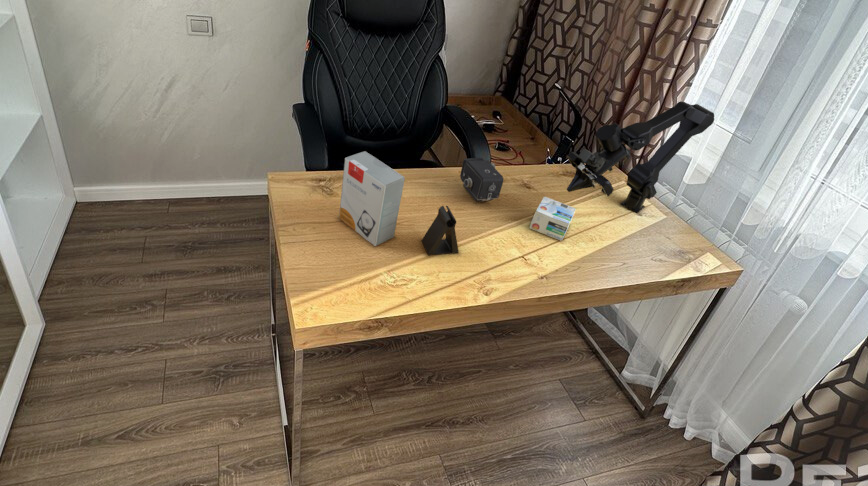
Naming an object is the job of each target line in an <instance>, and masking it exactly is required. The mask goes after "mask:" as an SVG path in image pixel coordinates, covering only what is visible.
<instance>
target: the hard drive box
mask: <svg viewBox="0 0 868 486" xmlns="http://www.w3.org/2000/svg"><path fill="white" fill-rule="evenodd" d="M405 179H406V177H405V176H404V175H402V174H401V173H400V172H398V171H397V170H395V169H393V168H391V167H390V166H389V165H387V164H385V163H384V162H383V161H381V160H379V158H377V157H376V156H373V155H372V154H370V153H368V152H367V151H366V150H364V151H361V152H358V153H355V154H352V155H349V156H347V157H345V158H344V164H343V174H342V182H341V183H342V184H341V192H340V193H341V194H340V204H339V213H338V214H339V215H338V219H339V220H341V221H342V222H343V223H344V224H345V225H346V226H348V227H349V228H351V229H352V230H353V231H354V232H356V233H357V234H358V235H360V236H361V237H362V238H363V239H364V240H366V241H367V242H368V243H370V244H371V245H372V246H374V247H377V246H379V245H381V244H383V243H385V242H387V241H389V240H391V239H392V238H395V234H396V227H397V223H398V217H399V211H400V206H401V202H402V201H401V200H402V196H403V190H404V185H405Z"/></svg>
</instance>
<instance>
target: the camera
mask: <svg viewBox="0 0 868 486" xmlns="http://www.w3.org/2000/svg"><path fill="white" fill-rule="evenodd" d="M459 178H460V180H461V182H462V183H463V186H462V187H463V188H464V189H465V190H466V191H467V193H468V194H469V195H470V196H471V197H472V199H473V200H474V201H475V202H489V201H493V200H495V199H499V197H500V194H501V191H502V187H503V184H504V179H505V178H504V177H503V175H502V174H501V173H500V172H499V171H498V170H497V168H496V164H495V163H493V162H492V163H491V162H490V161H489V160H488V159H483V157H476V158H475V157H472V158H464V159H463V161H462V166H461V170H460V174H459Z"/></svg>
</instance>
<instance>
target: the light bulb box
mask: <svg viewBox="0 0 868 486" xmlns="http://www.w3.org/2000/svg"><path fill="white" fill-rule="evenodd" d="M575 212H576V207H574V206H570V205H568V204H565V203H563V202H561V201H557V200H555V199H553V198H551V197H548V196H545V195H544V196H543V197H542V199H541V201H540V203H539V205H538V207H537V209H536V210H535V213H534V214H533V217H532V219H531V222H530V225H529V230H533V231H535V232H537V233H540V234H541V235H542V234H543V235H545V236H548V237H550V238H552V239H555V240H557V241H560V242H562V241H564V240H563V239H564V238H565V236H566V233H567V231H568V229H569V227H570V225H571V222H572V220H573V218H574V215H575Z"/></svg>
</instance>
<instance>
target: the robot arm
mask: <svg viewBox="0 0 868 486" xmlns="http://www.w3.org/2000/svg"><path fill="white" fill-rule="evenodd" d="M714 122H715V113H714V112H713V111H711V110H709V109H707V108H705V107H704V106H703V105H700V104H699V103H695V104H690V103H688V102H686V101H678V102H677V103H675V105H674V106H672V107H670V108H669V109H667V110H665V111H663V112H661V113H659V114H657V115H656V116H654V117H652V118H649V120H647V121H644V122H634V123H633V124H632V123H631V124H630V125H627V126H625V127H620V125H619V124H617V123H616V122H614V123H613V124H605V125H602V126H600V127H599V128H598V129H597V131H596V133H595V134H596V135H595V136H596V138H597V140H598V142H599V144H600V147H601V148H602V151H600V152H599V151H595V152H594V153H593V152H592V151H590V150H588V149H586V148H583V149H582V150H581V151H580V153H579V154H578V153H577V152H575V151H570V152H569V153H568V154H567V155H566V158H567V159H568V161H569V163H570V165H571V166H572V167H573V168H574V169H575V174H574V176H573V178H572V179H571V181H570V183H569V184H568V186H567V188H566V191H567V192H568V193H571V192H575V191H579V190H582V189H583V190H584V189H589V188H593V189H595V188H596V186H597V185H598V186H600V187H601V193H602V194H604V195H605V196H606V197H609V196H610V195H612V194H613V192H614V189H615V188H614V187H613V185H612V184H611V181H610V180H609V179H608V178H606V177H605V176H604V174H605V173H607V172H608V171H609V172H612V171H613V170H614V169H613V167H614V166H615V165H616V164H618V163H619V162H620V161H621V160H623V159H626V161H627V160H630V157H631V152H632V151H631V150H633V151H640V150H642V149H643V148H644V147H646V146H648V145H649V144H650V142H651V141H652V139H653V137H655V136H657V135H658V134H660V133H661V132H664V131H665V130H667V129H669V128H671V127H673V126H674V125H676V124H678V123H679V125H678V128H676V129H675V130H674V132H673V133H672V134H671V135H670V136H669V137H668V138H667V139H666V141H664V143H663V144H662V145H661V146H660V147H659V149H658V150H657V151H656V152H654V154H653V155H652V156H651V157H650V159H648V160H647V162H644V163H640V162H638V163H636V164H635V166H634V167H633V168H632V169H631V170H629V173H628V175H627V176H626V177H627V179H626V186H627V187H628V188H630V190H629V192H628V194H627V196H626V198H625V199H624V200H623V201H621V202H620V206H623V207H625V208H626V209H628V210H631V211H632V212H634V213H636V214H639V213H640V212H641V211H642V210H643V209H645V205H644V203H645V201H646V200H651V199H652V198H654V197H655V196H656V195H657V193H658V191H657V189H656V187H655V185H656V184H657V183H658V181H659V176H660V172H661V171H662V170H663V168H664V167H666V166H667V164H668V163H669V162H670V161H671V160H672V159H673V157H675V155H676V154H677V153H678V152H679V151H680V150H681V149H682V148H683V147H684V146H685V144H687V142H689V141H690V139H691V138H692V137H695V136H696V135H700V134H702V133H704V132H705V131H706V130H707V129H708V128H709V127H710V126H712V125H713V124H714ZM626 146H627V147H626ZM629 148H630V149H631V150H630V149H629Z"/></svg>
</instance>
